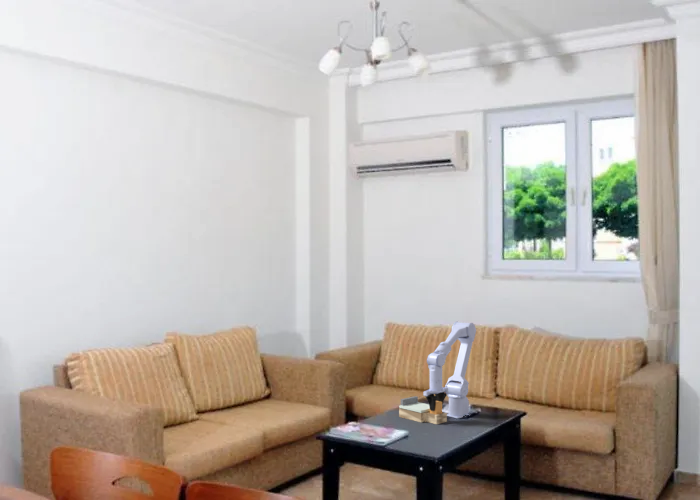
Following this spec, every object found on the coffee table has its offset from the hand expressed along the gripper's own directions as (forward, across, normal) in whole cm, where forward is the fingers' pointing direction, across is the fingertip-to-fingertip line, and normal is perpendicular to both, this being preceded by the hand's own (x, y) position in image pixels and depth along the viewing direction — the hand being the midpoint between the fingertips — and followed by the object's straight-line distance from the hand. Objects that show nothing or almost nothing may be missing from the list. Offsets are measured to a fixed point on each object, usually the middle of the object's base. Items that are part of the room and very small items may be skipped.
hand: (435, 409), depth 332 cm
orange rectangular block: (+3, 0, 0) cm, 3 cm away
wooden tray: (+5, 0, +7) cm, 9 cm away
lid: (+1, 0, +11) cm, 11 cm away
